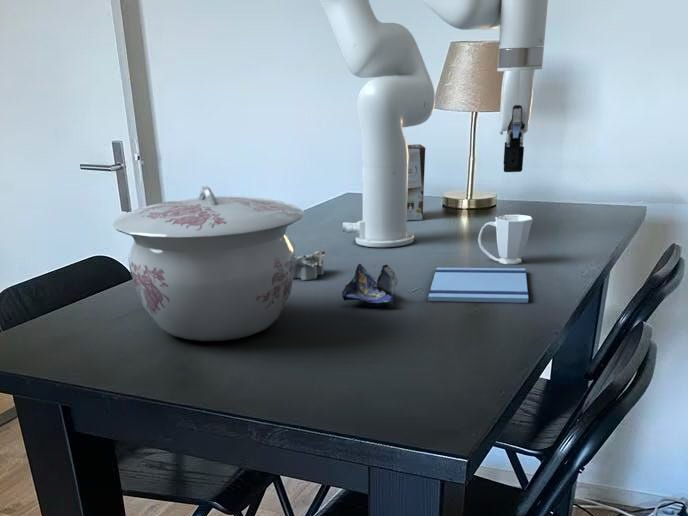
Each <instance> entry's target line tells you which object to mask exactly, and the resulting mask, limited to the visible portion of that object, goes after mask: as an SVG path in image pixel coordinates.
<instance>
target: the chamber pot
mask: <svg viewBox="0 0 688 516" xmlns="http://www.w3.org/2000/svg"><path fill="white" fill-rule="evenodd" d="M303 217H304V209H302V208H301V207H298V206H297V205H295V204H292V203H288V202H284V201H282V200H276V199H272V198H265V197H264V198H263V197H255V196H254V197H253V196H242V195H241V196H237V195H233V196H232V195H222V196H221V195H220V196H219V195H218V196H215V194H214V192H213V191H212V189H211V188H210V187H209V186H208V185H202V186H201V187H200V193H199V195H198V197H191V198H182V199H181V198H180V199H175V200H168V201H163V202H159V203H155V204H150V205H147V206H142V207H139V208H137V209H134V210H131V211H130V212H127V213H125V214H122V215H120V216H118V217H117V218H115V220H114V221H113V222H112V226H113V228H114V229H115V230H116V231H117V232H119V233H122V234H124V235H128V236H131V237H132V238H133V242H132V245H131V248H130V250H129V253H128V255H127V259H128V265H129V272H130V276H131V279H132V281H133V284H134V287H135V290H136V294H137V296H138V299H139V301H140V303H141V305H142V307H143V308H144V309H145V311H146V312H147V313H148V314H149V316H151V318H152V319H153V321H154V322H155V323H156V324H157V326H158V327H159V328H160V329H162V330H163V331H164V332H165V333H167V334H169V335H171V336H173V337H176V338H180V339H184V340H189V341H194V342H203V343H205V342H206V343H219V342H220V343H221V342H222V343H223V342H230V341H236V340H241V339H245V338H247V337H250V336H252V335H255V334H257V333H259V332H262V331H264V330H267V329H268V328H270V327H271V326H272V325H274V323H275V322H276V321H277V320H278V319H279V317H280V315H281V313H282V312H283V309H284V307H285V305H286V304H287V301H288V300H289V298H290V296H291V293H292V288H293V282H294V278H293V276H294V269H295V256H296V245H295V243H294V241H293V240H292V238H291V236H290V234H289V233H288V231H287V228H288V227H289V226H291V225H293V224H294V223H297V222H298V221H300V220H302V218H303Z"/></svg>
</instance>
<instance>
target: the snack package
mask: <svg viewBox="0 0 688 516" xmlns="http://www.w3.org/2000/svg"><path fill="white" fill-rule="evenodd" d="M374 267H375V268H376V265H374ZM398 282H399V281H398V278H397V275H396V272H395V271H394V270H393V268H391V267H390V266H389V265H388V264H383V265H382V266H381V270H380V273H379V275H378V277H377V278H376V277H374V276H373V275H372V274H371V273H370V272H369V271H368V270H367V269H366V268H365V267H364V266H363V265H362V264H361V263H358V264H357V266H356V268H355V273H354V276H353V277H352V279H351V280H350V281H349V282H348V284H346V285H345V286H344V289H343V290H342V292H341V295H342V299H343V301H344V302H345V301H361V302H363V303H364V304H365V307H367V308H382V307H393V306H394V294H395V293H396V292H397V289H396V288H397V287H398Z"/></svg>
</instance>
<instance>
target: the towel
mask: <svg viewBox="0 0 688 516" xmlns="http://www.w3.org/2000/svg"><path fill="white" fill-rule="evenodd" d="M527 280H528V279H527V270H526V268H525V267H523V268H519V267H517V268H516V267H515V268H514V267H436V269H435V272H434V276H433V279H432V283H431V286H430V290H429V292H428V297H427V301H428V302H449V303H450V302H451V303H452V302H455V303H456V302H457V303H459V302H461V303H511V304H515V303H516V304H517V303H518V304H528V303H529V291H528V281H527Z"/></svg>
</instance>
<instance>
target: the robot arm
mask: <svg viewBox="0 0 688 516" xmlns="http://www.w3.org/2000/svg"><path fill="white" fill-rule="evenodd" d="M318 1H319V3H320V5H321V7H322V9H323V11H324V13H325V15H326V17H327V19H328V22H329V24H330V27H331V30H332V32H333V36H334V37H335V40H336V42H337V45H338V47H339V50H340V52H341V55H342V57H343V59H344V62H345V64H346V66H347V68H348V70H349V72H350V73H351V74H352V75H353V76H355V77H357V78H361V79H362V78H363V79H369V78H371V79H370V80H368V81H367V82H366V83H365V84H364V85H363V86H362V87H361V89H360V91H359V93H358V96H357V100H356V110H357V112H356V113H357V118H358V123H359V128H360V137H361V159H362V160H361V161H362V162H361V163H362V164H361V165H362V219H360V220H357V222H343V223H342V232H344V233H347V234H349V233H350V234H352V233H357V235H356V236H355V243H356V244H357V245H359V246H363V247H366V248H367V247H368V248H395V247H402V246H407V245H410V244H412V243H413V242H414V240H415V236H414V234H412V233H411V232H408V231H407V230H408V220H407V195H408V146H407V145H408V142H407V138H406V136H405V134H404V130H403V129H404V128H409V127H415V126H419V125H422V124H424V123H425V122H427V121H428V120H429V119H430V117H431V116H432V114H433V113H434V111H435V106H436V93H435V89H434V84H433V81H432V79H431V76H430V74H429V72H428V68H427V66H426V64H425V61H424V59H423V56H422V53H421V51H420V49H419V46H418V44H417V41H416V38H415V37H414V35H413V34H412V33H411V32H410V30H409V29H408V28H406V27H405V26H404V25H403V24H400V23H396V22H381V21H380V20H378V18H377V17H376V15H375V13H374V11H373V8H372V6H371V3H370V0H318ZM422 2H423V3H424V5H425V6H426V7H427V8H428V9H430V10H431V11H432V12H433V13H434V14H435V15H436V16H437V17H439V18H440V19H441V20H442V21H444V22H445V23H446V24H448V25H449V26H451V27H453V28H455V29H458V30H462V31H463V30H464V31H465V30H466V31H467V30H469V31H470V30H496V29H499V38H498V52H497V53H498V54H497V68H496V72H503V74H502V80H501V81H502V82H501V92H500V104H499V105H500V107H499V121H498V122H499V125H498V128H499V129H498V133H499V134H500V135H501V136H503V135H504V132H506V138H505V142H504V150H503V172H504V173H521V172H522V171H523V165H524V154H525V153H524V152H525V147H524V135H525V134H526V133H528V131H529V125H530V119H531V113H532V112H531V111H532V105H533V95H534V83H535V73H536V70H542V69H543V63H544V52H545V51H544V50H545V41H546V39H545V38H546V28H547V17H548V5H549V4H548V3H549V0H422Z"/></svg>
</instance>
